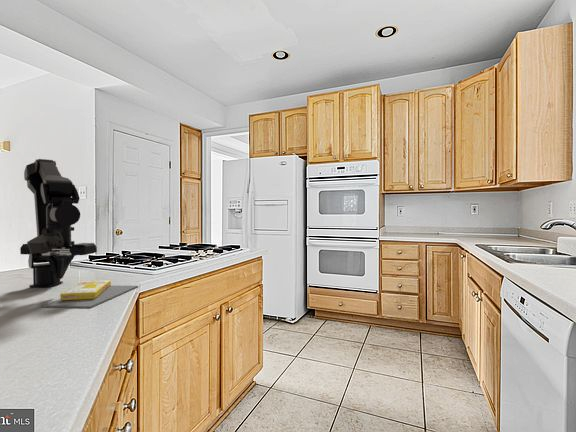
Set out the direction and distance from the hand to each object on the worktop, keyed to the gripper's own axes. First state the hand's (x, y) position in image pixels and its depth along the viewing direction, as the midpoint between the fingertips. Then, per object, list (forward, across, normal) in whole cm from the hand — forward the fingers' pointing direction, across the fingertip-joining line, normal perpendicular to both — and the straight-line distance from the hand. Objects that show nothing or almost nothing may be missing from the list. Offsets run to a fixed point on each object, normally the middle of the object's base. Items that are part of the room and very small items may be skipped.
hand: (59, 278), depth 93 cm
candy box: (+3, +3, 0) cm, 5 cm away
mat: (+5, +11, 0) cm, 12 cm away
